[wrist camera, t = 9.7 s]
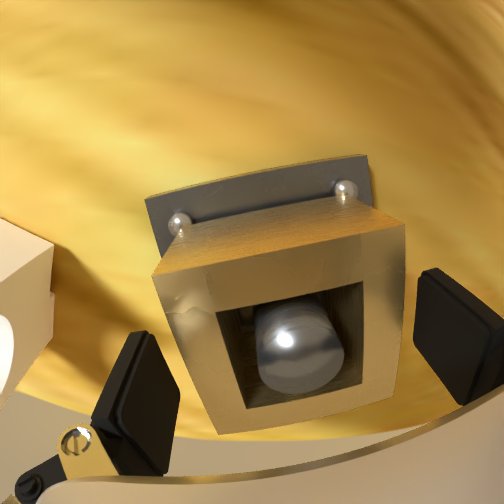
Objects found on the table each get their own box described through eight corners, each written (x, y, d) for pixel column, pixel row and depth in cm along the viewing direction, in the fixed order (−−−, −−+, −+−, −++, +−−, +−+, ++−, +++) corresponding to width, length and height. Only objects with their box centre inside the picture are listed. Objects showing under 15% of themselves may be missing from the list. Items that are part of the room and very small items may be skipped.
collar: (182, 226, 12) (151, 275, 8) (345, 194, 12) (404, 224, 8) (221, 357, 15) (218, 434, 10) (354, 329, 15) (393, 396, 10)
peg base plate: (150, 195, 13) (80, 241, 7) (358, 154, 13) (450, 168, 7) (205, 363, 17) (194, 462, 10) (370, 328, 17) (422, 411, 10)
